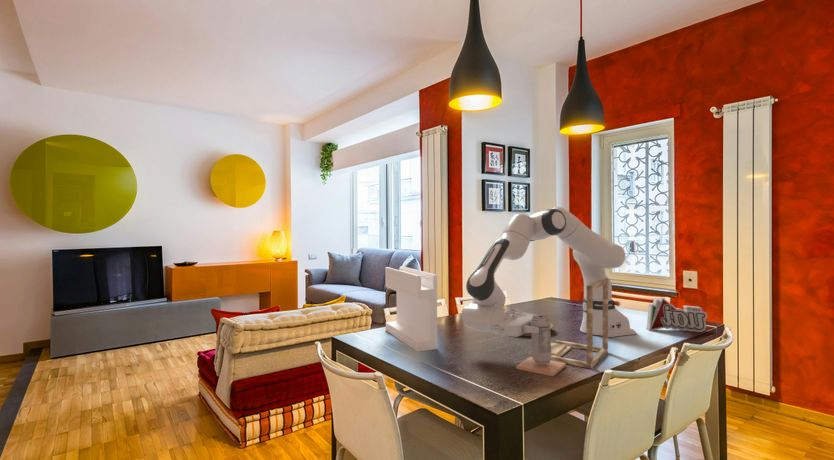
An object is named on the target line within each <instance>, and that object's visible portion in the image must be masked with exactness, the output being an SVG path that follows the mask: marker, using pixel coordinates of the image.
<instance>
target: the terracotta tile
mask: <svg viewBox="0 0 834 460" xmlns="http://www.w3.org/2000/svg"><path fill="white" fill-rule="evenodd" d="M566 365H567V364H566V363H562V362H557V361H550V363H548V364H538V363H535V362H534V360H533V356H530V357H528V358H527V359H525V360H523V361H521V362H520V363H518V364H517V365H515V366H516V369H517V370H520V371H525V372H530V373H535V374H539V375H544V376H547V377H548V376H549V377H554V376H556V375H557V374H558V373H559V372H560V371H562V370H563V369H564V368H566Z"/></svg>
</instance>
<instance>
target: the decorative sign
mask: <svg viewBox="0 0 834 460" xmlns="http://www.w3.org/2000/svg"><path fill="white" fill-rule="evenodd" d="M682 307H683V309H682V308H678V307H675V305H673V304H672V303H670V301H668V300H667V299H665V298H664V297H661V296H659V298H658V299H657V298H654V299H653V302H652V303H651V302H650V303H648V310H647V318H646V319H647V320H646V321H647V322H646V331H649V332H652V331H657V330H662V329H666V330H669V329H670V330H671V329H672V330H679V331H688V332H697V333H702V332H704V331H705V330H706V329H707V323H706V319H707V318H708V314H707V312H705V311H703V308H702V307H700V306H693V305H683V306H682Z"/></svg>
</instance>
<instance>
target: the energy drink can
mask: <svg viewBox="0 0 834 460" xmlns="http://www.w3.org/2000/svg"><path fill="white" fill-rule="evenodd" d="M550 323H551V321H550V319H549V316H548V315H546V314H536V315H533V318H532V320H531V326H533V327H534V326H536V327H540V332H539V333H531V335H532V336H531V348H532V349H531V352H532V353H531V354H532V355H531V356H532V357H533V360H534V362H535V363H538V364H548V363H550V361H551V360H552V355H551V343H552V338H551V330H550Z"/></svg>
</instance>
